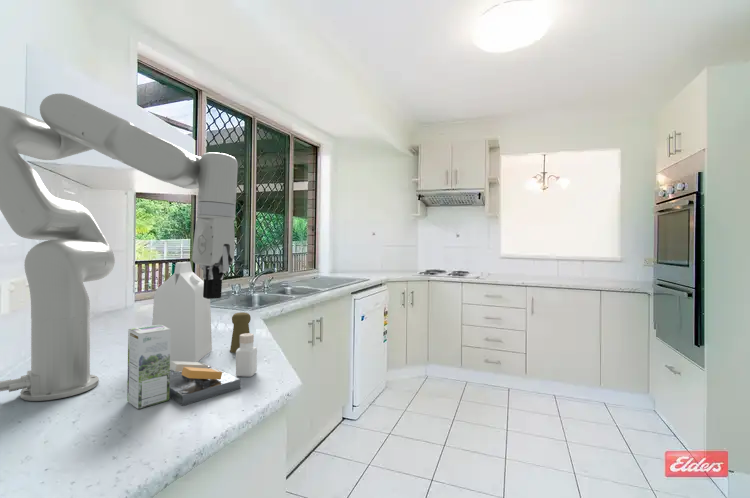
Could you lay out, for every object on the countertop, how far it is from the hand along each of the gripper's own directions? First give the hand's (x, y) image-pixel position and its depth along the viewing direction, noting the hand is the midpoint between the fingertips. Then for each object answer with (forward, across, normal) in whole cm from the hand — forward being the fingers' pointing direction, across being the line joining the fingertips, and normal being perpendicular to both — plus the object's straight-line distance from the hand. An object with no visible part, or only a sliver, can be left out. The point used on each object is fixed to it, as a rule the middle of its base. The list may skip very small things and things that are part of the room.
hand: (212, 297), depth 80 cm
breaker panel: (+20, -2, -2) cm, 20 cm away
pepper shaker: (+20, -22, +20) cm, 36 cm away
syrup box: (+20, -2, -11) cm, 23 cm away
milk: (+20, -28, +6) cm, 35 cm away
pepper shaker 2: (+20, -2, +10) cm, 22 cm away
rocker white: (+16, -5, -2) cm, 17 cm away
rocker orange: (+15, +1, -2) cm, 16 cm away
